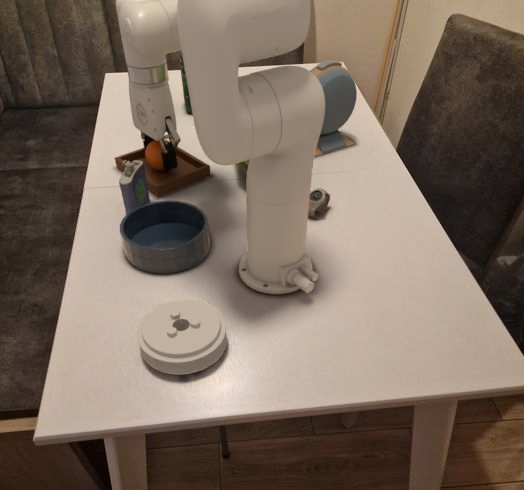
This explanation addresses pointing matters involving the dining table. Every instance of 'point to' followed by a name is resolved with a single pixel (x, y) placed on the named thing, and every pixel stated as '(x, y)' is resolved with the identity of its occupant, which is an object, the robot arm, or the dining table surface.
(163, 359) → the lid
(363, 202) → the dining table surface
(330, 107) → the alarm clock
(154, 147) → the mandarin
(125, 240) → the bowl
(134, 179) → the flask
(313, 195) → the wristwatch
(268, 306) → the dining table surface
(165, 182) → the tray
